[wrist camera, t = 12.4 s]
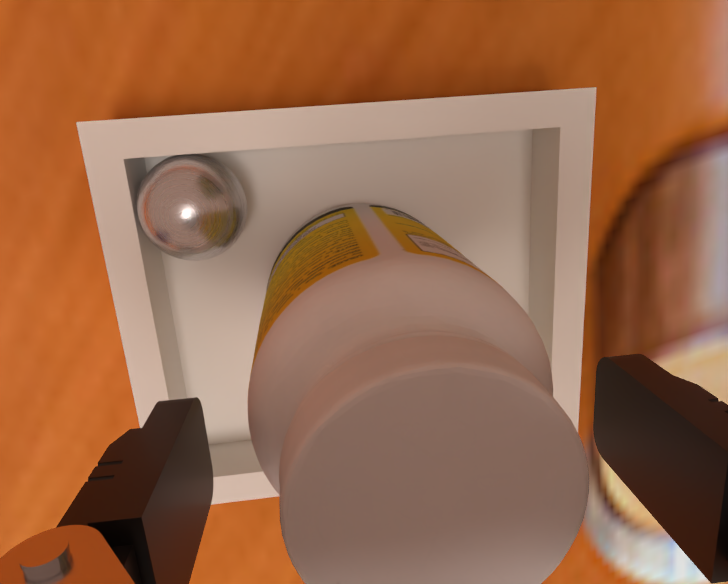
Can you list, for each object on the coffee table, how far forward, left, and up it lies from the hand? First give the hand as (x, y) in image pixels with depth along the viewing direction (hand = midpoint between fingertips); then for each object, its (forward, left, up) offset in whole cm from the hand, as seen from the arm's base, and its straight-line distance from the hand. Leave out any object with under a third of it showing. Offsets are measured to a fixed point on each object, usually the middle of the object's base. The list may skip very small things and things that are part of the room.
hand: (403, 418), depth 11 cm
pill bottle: (0, 0, -8) cm, 8 cm away
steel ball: (+5, -4, -8) cm, 10 cm away
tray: (0, 0, -9) cm, 9 cm away
